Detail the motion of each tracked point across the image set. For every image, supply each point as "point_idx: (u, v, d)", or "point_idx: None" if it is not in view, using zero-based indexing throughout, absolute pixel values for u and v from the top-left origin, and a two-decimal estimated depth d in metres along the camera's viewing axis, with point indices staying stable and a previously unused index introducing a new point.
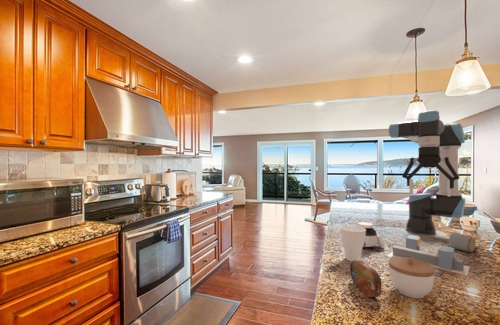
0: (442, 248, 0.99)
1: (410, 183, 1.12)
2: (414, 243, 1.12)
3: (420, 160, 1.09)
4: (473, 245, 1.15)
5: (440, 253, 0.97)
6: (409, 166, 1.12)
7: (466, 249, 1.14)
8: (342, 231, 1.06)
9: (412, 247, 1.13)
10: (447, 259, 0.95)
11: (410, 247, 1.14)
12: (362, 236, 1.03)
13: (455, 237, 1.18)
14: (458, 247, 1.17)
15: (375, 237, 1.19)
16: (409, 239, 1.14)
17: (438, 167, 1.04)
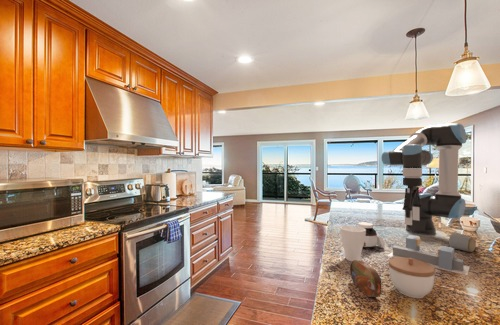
0: (442, 248, 0.99)
1: (412, 210, 1.21)
2: (414, 243, 1.12)
3: None
4: (473, 245, 1.15)
5: (440, 253, 0.97)
6: None
7: (466, 249, 1.14)
8: (342, 231, 1.06)
9: (412, 247, 1.13)
10: (447, 259, 0.95)
11: (410, 247, 1.14)
12: (362, 236, 1.03)
13: (455, 237, 1.18)
14: (458, 247, 1.17)
15: (375, 237, 1.19)
16: (409, 239, 1.14)
17: None
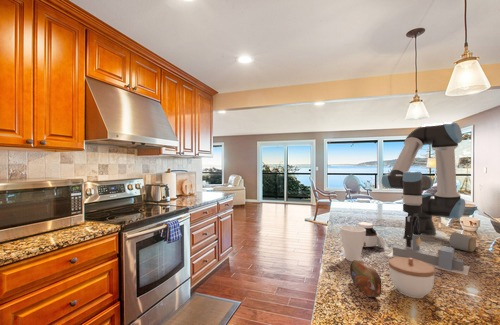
0: (442, 248, 0.99)
1: None
2: (414, 243, 1.12)
3: None
4: (474, 245, 1.15)
5: (440, 253, 0.97)
6: None
7: (467, 249, 1.14)
8: (342, 231, 1.06)
9: None
10: (447, 259, 0.95)
11: None
12: (362, 236, 1.03)
13: (456, 237, 1.18)
14: (459, 247, 1.17)
15: (375, 237, 1.19)
16: None
17: None
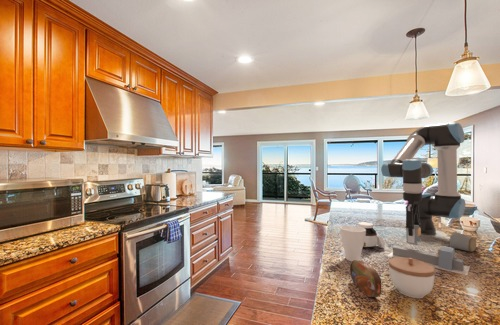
0: (442, 248, 0.99)
1: None
2: None
3: None
4: (474, 245, 1.15)
5: (440, 253, 0.97)
6: None
7: (467, 249, 1.15)
8: (342, 231, 1.06)
9: None
10: (447, 259, 0.95)
11: None
12: (362, 236, 1.03)
13: (456, 237, 1.18)
14: (459, 247, 1.17)
15: (375, 237, 1.19)
16: None
17: None
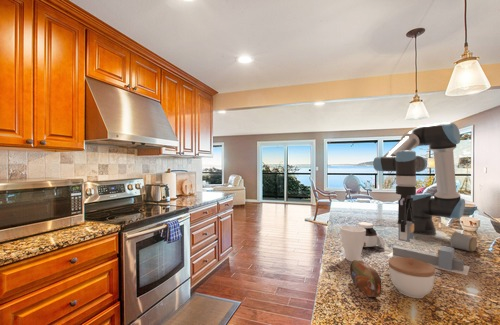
0: (442, 248, 0.99)
1: None
2: (407, 229, 1.05)
3: None
4: (474, 245, 1.16)
5: (440, 253, 0.97)
6: None
7: (467, 249, 1.15)
8: (342, 231, 1.06)
9: None
10: (447, 259, 0.95)
11: None
12: (362, 236, 1.03)
13: (457, 237, 1.19)
14: (459, 247, 1.17)
15: (375, 237, 1.19)
16: None
17: None
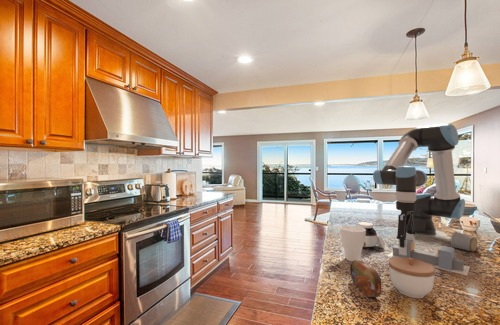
0: (442, 248, 0.99)
1: (406, 237, 1.13)
2: (408, 248, 1.05)
3: None
4: (475, 244, 1.16)
5: (440, 253, 0.97)
6: None
7: (468, 248, 1.15)
8: (342, 231, 1.06)
9: None
10: (447, 259, 0.95)
11: None
12: (362, 236, 1.03)
13: (457, 236, 1.19)
14: (460, 246, 1.18)
15: (375, 237, 1.19)
16: None
17: None
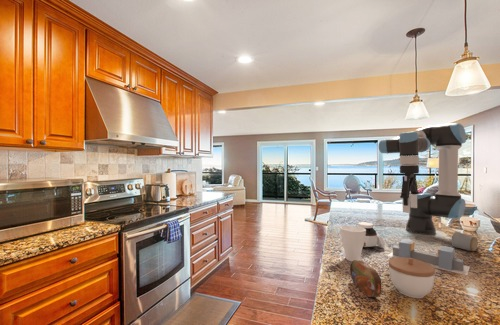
0: (442, 248, 0.99)
1: (410, 197, 1.21)
2: (408, 248, 1.05)
3: None
4: (475, 244, 1.16)
5: (440, 253, 0.97)
6: None
7: (469, 248, 1.15)
8: (342, 231, 1.06)
9: (406, 252, 1.05)
10: (447, 259, 0.95)
11: (403, 252, 1.06)
12: (362, 236, 1.03)
13: (458, 236, 1.19)
14: (461, 246, 1.18)
15: (375, 237, 1.19)
16: (402, 243, 1.06)
17: None
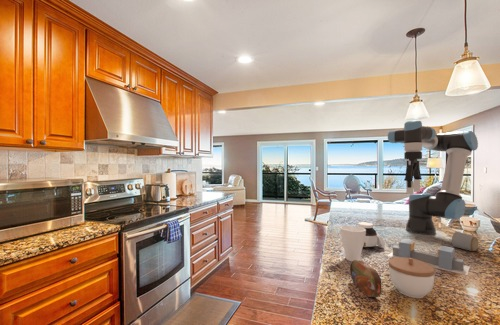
0: (442, 248, 0.99)
1: None
2: (408, 248, 1.05)
3: None
4: (476, 244, 1.16)
5: (440, 253, 0.97)
6: None
7: (469, 248, 1.16)
8: (342, 231, 1.06)
9: (406, 252, 1.05)
10: (447, 259, 0.95)
11: (403, 252, 1.06)
12: (362, 236, 1.03)
13: (458, 236, 1.19)
14: (461, 246, 1.18)
15: (375, 237, 1.19)
16: (402, 243, 1.06)
17: None
